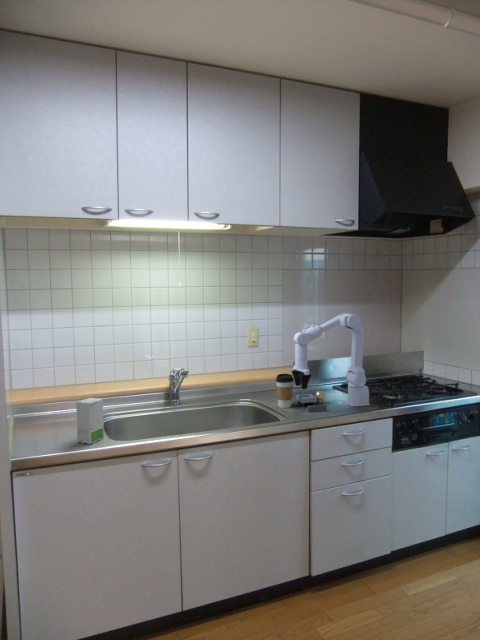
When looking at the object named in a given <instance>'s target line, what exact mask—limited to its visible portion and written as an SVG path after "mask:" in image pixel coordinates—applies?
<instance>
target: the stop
mask: <svg viewBox="0 0 480 640" xmlns="http://www.w3.org/2000/svg"><path fill="white" fill-rule="evenodd" d="M306 411H307V412H308V413H315V412H322V411H323V412H324V411H325V412H326V411H327V405H326V404H317V405H307V408H306Z"/></svg>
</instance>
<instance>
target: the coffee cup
mask: <svg viewBox="0 0 480 640" xmlns="http://www.w3.org/2000/svg"><path fill="white" fill-rule="evenodd" d="M275 382H276V395H277V405H278V408H282V409H287V408H291V406H292V396H293V387H294V386H293V383H294V376H293V374H290V373H280V374H277V375H276V379H275Z"/></svg>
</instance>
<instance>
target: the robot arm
mask: <svg viewBox="0 0 480 640" xmlns="http://www.w3.org/2000/svg"><path fill="white" fill-rule="evenodd" d="M338 326H340V327H344V328H346V329H348V330H349V331H350V332H351V334H352V335H351V336H352V337H351V338H352V339H351V353H350V365H349V366H348V368H347V372H346V375H345V381H346V382H347V383H348V384H347V400H346V401H344V402H343V403H345V404H346V405H348V406H350V407H364V406H370V391H369V387H368V386H367V385H366V383H367V377H366V371H365V369H364V368H363V357H364V341H365V328H364V326H363V323H362V319H361V318H360V317H359V315H357V314H355V313H347V312H344V313H341V314H338V315H336V316H334V317H333V318H331V319H329V320H328V321H326V322H324V323H322V324H320V325H318V324H312V325H310V327H309V328H307V329H302V332H301V331H299V332H296V333H295V335H294V336H293V338H292V341H293V343H294V346H295V347H294V364H293V367H292V370H291V373H292V374H291V375H292V377H293V381H294V383H295V387H296V386H301V390H307V388H308V385H309V382H310V379H311V377H312V374H311V373H310V370H309V367H308V345H309V343H310V342H311V341H314V340H316V339H317V338H320V337H322V336H323V333H324V332H326V331H329V330H330V329H333V328H336V327H338Z"/></svg>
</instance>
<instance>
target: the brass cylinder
mask: <svg viewBox="0 0 480 640" xmlns="http://www.w3.org/2000/svg"><path fill="white" fill-rule="evenodd" d="M324 393H325V392H324V391H323V390H317V391H315V397H316V398H317V402H315V405H316V404H317V405H324V403H325V402H324V399H325V396H324V395H325V394H324Z"/></svg>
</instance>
